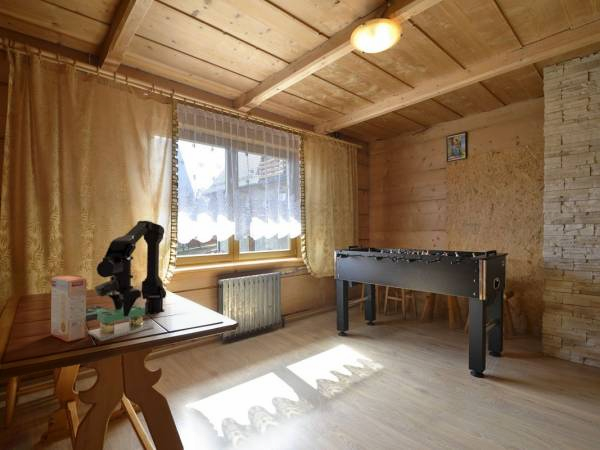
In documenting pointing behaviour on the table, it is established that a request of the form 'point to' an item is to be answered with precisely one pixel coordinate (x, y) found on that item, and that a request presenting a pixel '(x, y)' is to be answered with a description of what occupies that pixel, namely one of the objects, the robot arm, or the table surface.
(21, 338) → the table surface
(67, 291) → the cracker box
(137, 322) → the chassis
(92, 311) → the disk drive
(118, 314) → the board
